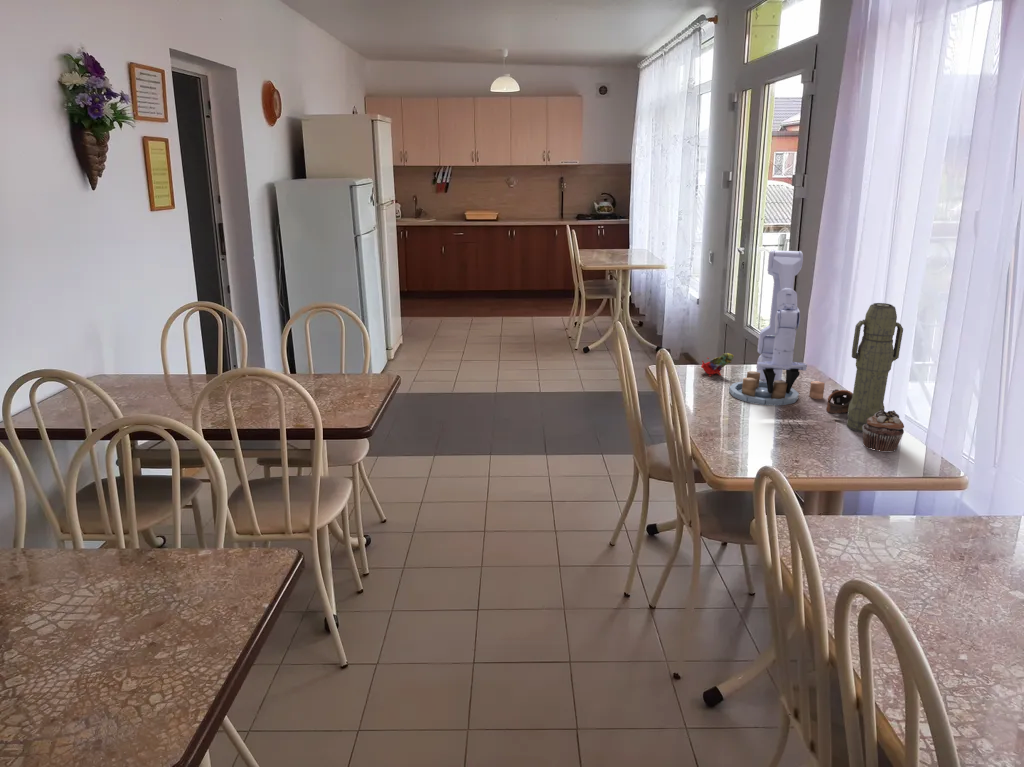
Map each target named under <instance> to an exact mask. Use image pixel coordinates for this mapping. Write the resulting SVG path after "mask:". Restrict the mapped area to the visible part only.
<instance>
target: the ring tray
mask: <svg viewBox="0 0 1024 767" xmlns="http://www.w3.org/2000/svg"><path fill="white" fill-rule="evenodd" d="M742 385H743V380H742V381H737V382H733V383H732V384H731V385H730V386H729V389H728V393H729V394H730V395H731V396H732V397H733V398H735V399H738V400H740V401H743V402H746V403H751V404H756V405H762V406H785V405H786V406H787V405H791V404H795V403H796V402H797V400H798V399H799V395H800V394H799V391H797V390H796V389H794V388H793V387H791V390H790V392H789V393H786V395H785V398H782V399H771V394H772V393H769V392H768V388H767V382H766V381H764V380H760V381H759V387H758V388H756V390H755V397H752V396H748V395H746V394H743V393H742Z"/></svg>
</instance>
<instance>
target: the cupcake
mask: <svg viewBox="0 0 1024 767" xmlns="http://www.w3.org/2000/svg"><path fill="white" fill-rule="evenodd" d="M904 428H905V424H904V422H903V421H902V420H901V419H900V415H899V414H898V413H897V412H896V411H895V410H889V411H885V409H884V410H882V409H881V411H879V412H877V413H875V415H874V416H872V417H870V418H868V419H867V424H865V425H863V427H862V429H863V433H862V443H863V444H864V445H865V446H866V447H868V448H872V449H875V450H880V451H893V452H895V451H896V450H897V449H898V447H899V444H900V441H901V439H902V437H903V435H904V433H905V432H904V431H905V430H904ZM864 445H863V446H864ZM865 446H864V447H865ZM866 447H865V448H866ZM868 448H867V449H868ZM875 450H874V451H875ZM894 450H895V451H894Z"/></svg>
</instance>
